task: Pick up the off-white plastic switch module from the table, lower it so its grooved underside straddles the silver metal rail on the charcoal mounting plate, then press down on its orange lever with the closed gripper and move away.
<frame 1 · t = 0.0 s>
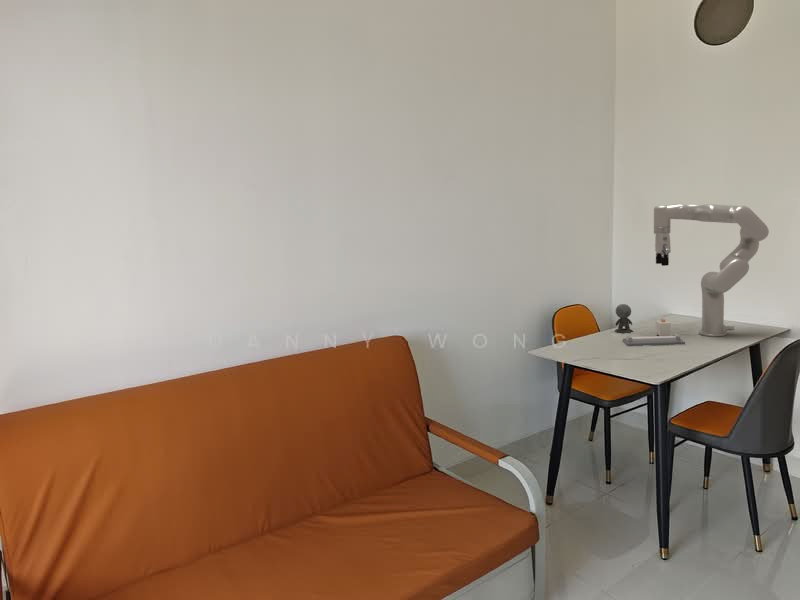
hand: (662, 264, 278), 37 cm above the table, tool pointing down, fingers open, 9 cm apart
module: (663, 336, 281), on the table
figurine: (623, 332, 298), on the table
rail plate: (653, 342, 271), on the table
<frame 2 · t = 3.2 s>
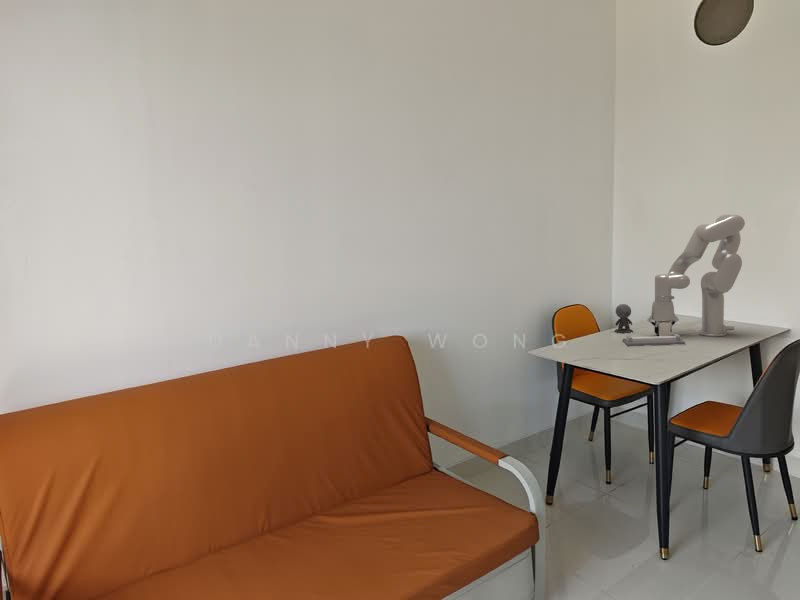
hand: (663, 333, 281), 1 cm above the table, tool pointing down, fingers closed on module, 5 cm apart
module: (663, 336, 281), on the table, touching gripper
everything else where it was.
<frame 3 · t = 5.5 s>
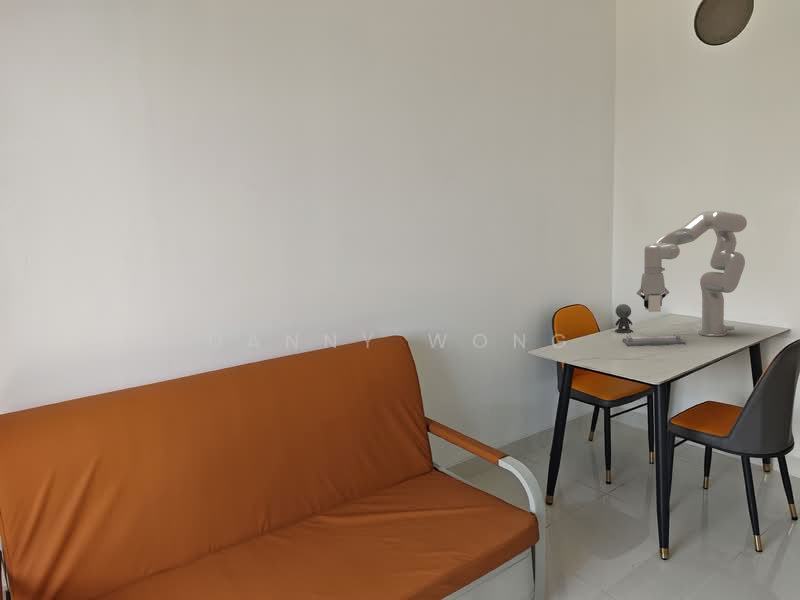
hand: (652, 307, 268), 18 cm above the table, tool pointing down, fingers closed on module, 5 cm apart
module: (652, 310, 268), point 16 cm above the table, touching gripper
everything else where it was.
when the fingers open (3 cm above the table, at t = 7.6 s): module stays where it is, resting on rail plate.
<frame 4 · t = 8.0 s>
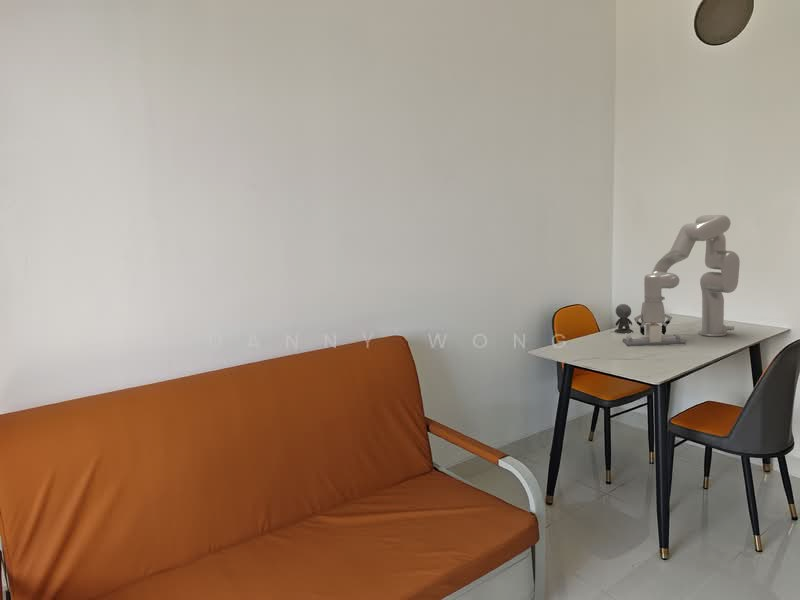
hand: (653, 334, 270), 4 cm above the table, tool pointing down, fingers open, 9 cm apart
module: (653, 340, 270), point 1 cm above the table, touching rail plate
everything else where it was.
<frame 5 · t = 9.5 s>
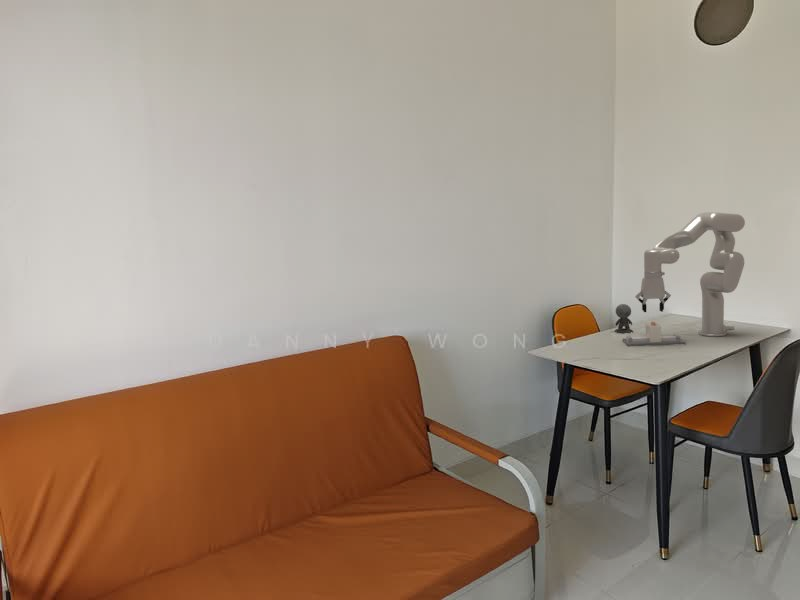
hand: (652, 311, 268), 16 cm above the table, tool pointing down, fingers open, 6 cm apart
nothing on the table moved.
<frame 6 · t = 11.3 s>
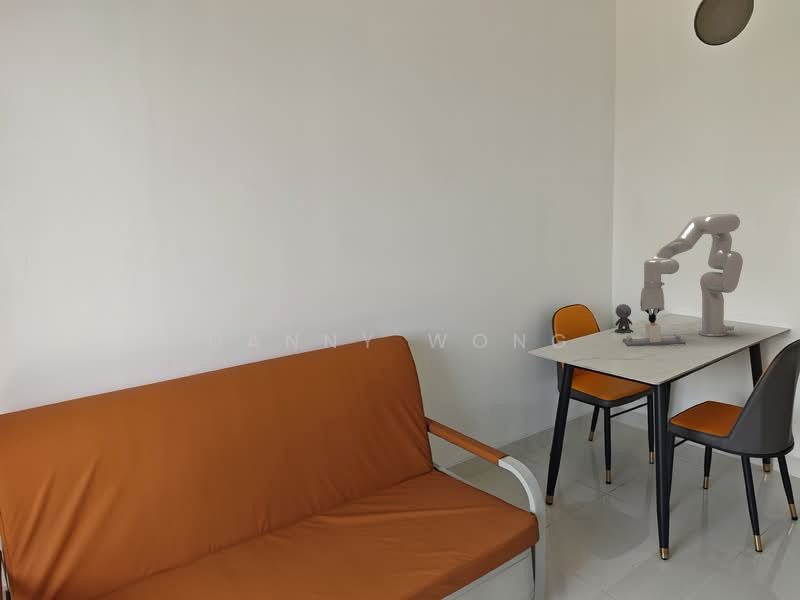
hand: (652, 322, 269), 10 cm above the table, tool pointing down, fingers closed
module: (653, 340, 270), point 1 cm above the table, touching gripper, rail plate
everything else where it was.
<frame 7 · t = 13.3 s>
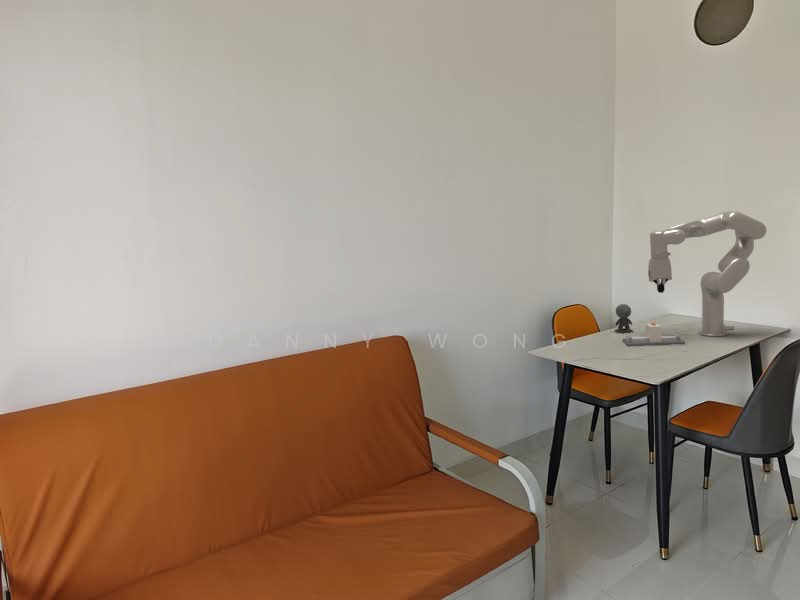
hand: (660, 292, 276), 23 cm above the table, tool pointing down, fingers closed
module: (653, 340, 270), point 1 cm above the table, touching rail plate
everything else where it was.
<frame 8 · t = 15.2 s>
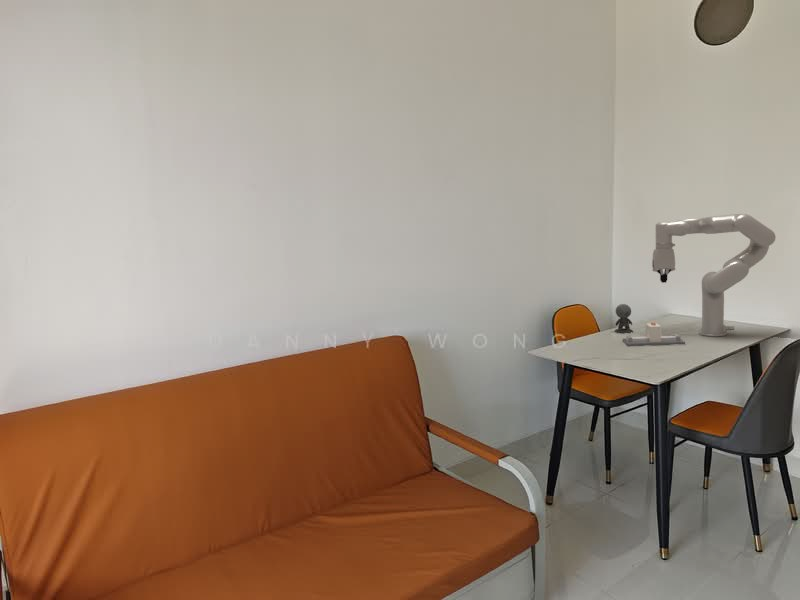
hand: (663, 282, 283), 27 cm above the table, tool pointing down, fingers closed
nothing on the table moved.
at the end: module inside the target area on the rail plate (0.1 cm from its centre), point 1.2 cm above the rail plate's base; module tilted 0°; the gripper is holding nothing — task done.
